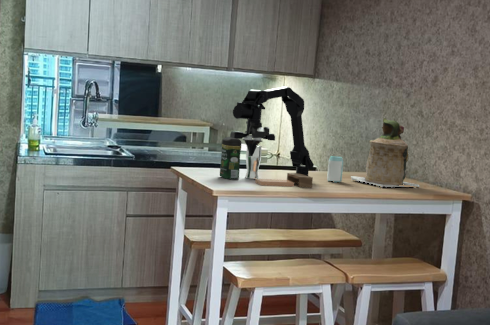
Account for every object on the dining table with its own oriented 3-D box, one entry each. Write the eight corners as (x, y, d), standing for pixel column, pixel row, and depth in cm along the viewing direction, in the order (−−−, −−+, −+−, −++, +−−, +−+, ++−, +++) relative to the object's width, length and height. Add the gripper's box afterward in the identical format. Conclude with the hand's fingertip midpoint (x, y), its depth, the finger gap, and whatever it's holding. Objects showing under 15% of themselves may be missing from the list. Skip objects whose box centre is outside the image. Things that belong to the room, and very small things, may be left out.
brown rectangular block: (286, 182, 301) (287, 172, 300) (298, 182, 303) (299, 173, 303) (299, 187, 289) (300, 177, 288) (311, 187, 291) (312, 177, 291)
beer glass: (261, 179, 305) (264, 146, 304) (247, 178, 303) (249, 146, 302) (256, 177, 312) (259, 145, 310) (242, 176, 310) (244, 144, 308)
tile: (255, 183, 293) (255, 178, 293) (287, 184, 297) (287, 180, 297) (260, 186, 286) (261, 181, 285) (293, 187, 290) (294, 182, 290)
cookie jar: (382, 188, 307) (389, 119, 304) (348, 180, 328) (354, 115, 325) (421, 188, 320) (428, 121, 317) (386, 180, 341) (392, 118, 338)
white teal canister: (324, 181, 318) (326, 156, 317) (331, 180, 324) (333, 155, 323) (337, 183, 314) (339, 157, 313) (344, 182, 320) (346, 157, 319)
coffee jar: (217, 176, 304) (220, 135, 302) (233, 176, 307) (236, 136, 305) (224, 179, 295) (227, 137, 293) (241, 179, 298) (244, 138, 296)
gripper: (240, 119, 273) (237, 157, 275) (282, 122, 280) (278, 159, 282) (231, 117, 284) (228, 154, 285) (271, 120, 291) (268, 156, 292)
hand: (251, 156), depth 286 cm, fingers closed
